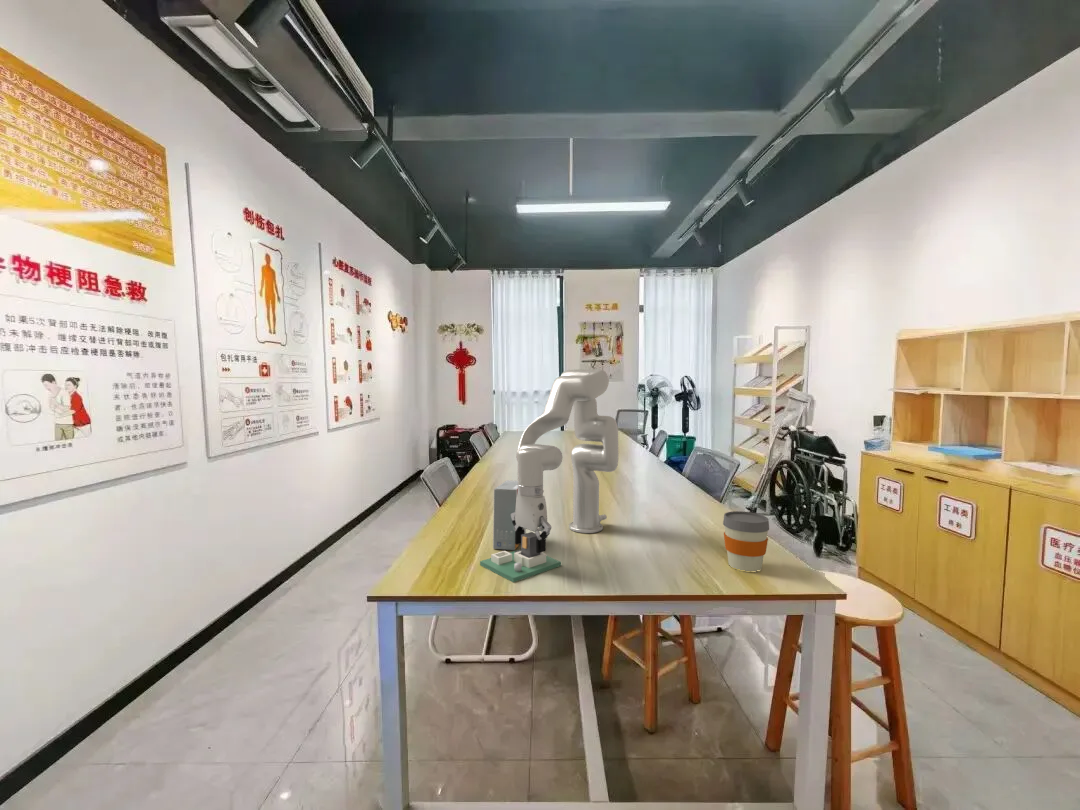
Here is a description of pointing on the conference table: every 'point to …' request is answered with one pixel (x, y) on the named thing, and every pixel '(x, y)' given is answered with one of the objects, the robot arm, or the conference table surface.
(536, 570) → the board
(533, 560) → the frame
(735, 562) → the reusable coffee cup
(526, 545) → the plug
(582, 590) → the conference table surface
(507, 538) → the hard drive box
